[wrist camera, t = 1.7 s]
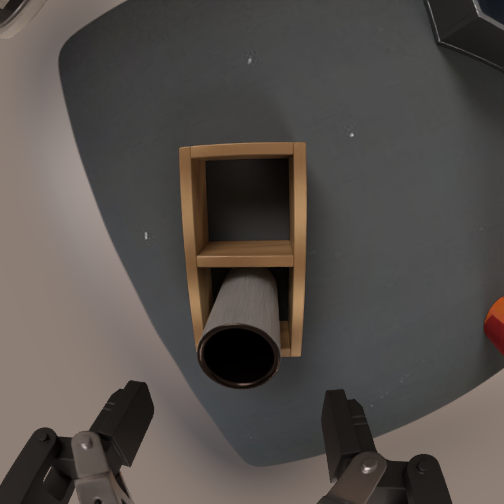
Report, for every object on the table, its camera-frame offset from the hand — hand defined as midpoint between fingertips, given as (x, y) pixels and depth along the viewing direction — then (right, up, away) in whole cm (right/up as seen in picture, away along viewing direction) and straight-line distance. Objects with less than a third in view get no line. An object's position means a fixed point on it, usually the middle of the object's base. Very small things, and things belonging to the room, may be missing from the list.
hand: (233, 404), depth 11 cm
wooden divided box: (+1, +7, +12) cm, 14 cm away
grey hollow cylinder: (+1, +4, +13) cm, 14 cm away
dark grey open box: (+24, +32, +4) cm, 40 cm away
